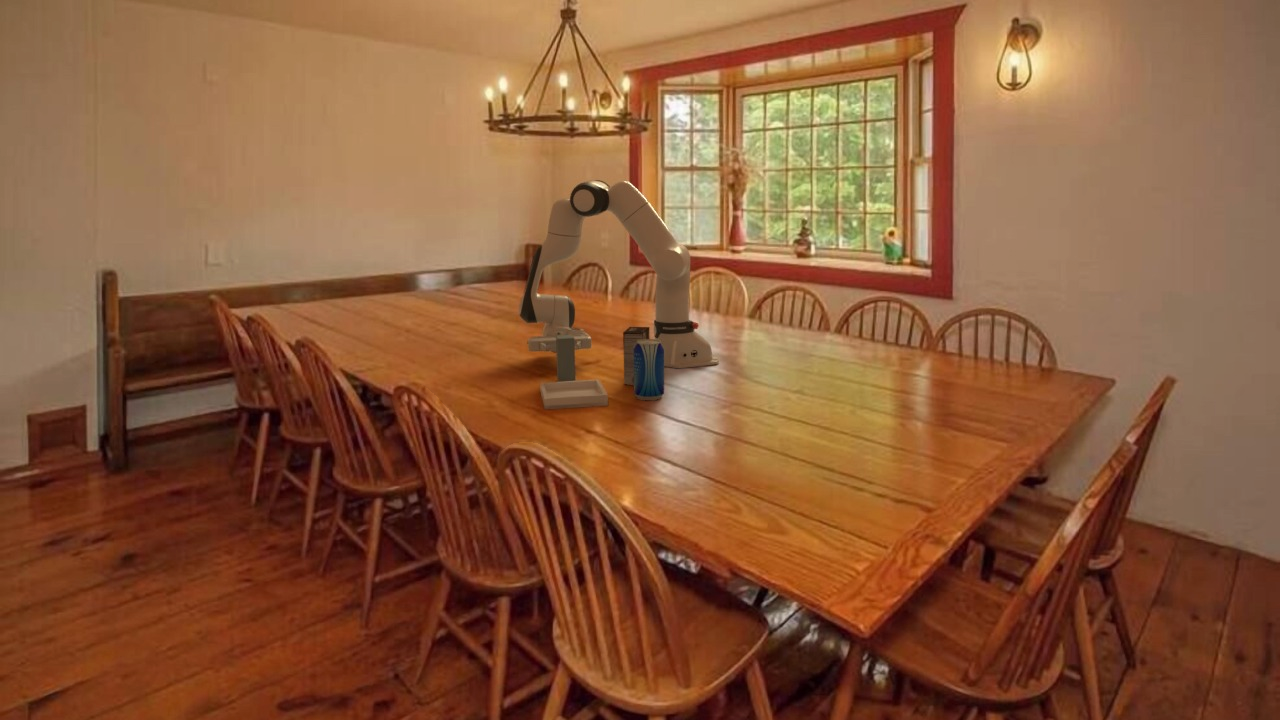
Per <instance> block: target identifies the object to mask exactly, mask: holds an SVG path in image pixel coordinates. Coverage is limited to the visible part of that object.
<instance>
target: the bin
mask: <svg viewBox="0 0 1280 720" xmlns="http://www.w3.org/2000/svg"><path fill="white" fill-rule="evenodd" d="M539 387H540V388H539V389H540V395H541V400H542V403H543V407H544V408H543V409H544V410H546V411H547V410H560V409H576V408H589V407H590V408H591V406H594V407H604V406H605V407H606V406H609V398H608V397H609V395H608V393H607V391H606V389H605V388H604V385H602V382H601V380H600V379H599V378H598V379H587V380H586V379H583V380H575V381H563V382H558V381H549V382H540V383H539Z"/></svg>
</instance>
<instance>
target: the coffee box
mask: <svg viewBox="0 0 1280 720" xmlns="http://www.w3.org/2000/svg"><path fill="white" fill-rule="evenodd" d="M650 329H651V327H650V326H629V327H627V328H626V329H625V330H624V331H623V332H622V334H623V337H622V338H623V339H622V341H623V342H622V343H623V384H624V385H625V384H627V386H634V348H635V346H636V345H637V341H638V340H643V339H651V338H650Z"/></svg>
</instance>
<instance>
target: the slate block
mask: <svg viewBox="0 0 1280 720" xmlns="http://www.w3.org/2000/svg"><path fill="white" fill-rule="evenodd" d="M575 351H576V350H575V346H574V337H573V335H557V336H556V353H555V354H556V376H557V380H556V382H563V381H576V354H575Z"/></svg>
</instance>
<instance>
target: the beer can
mask: <svg viewBox="0 0 1280 720" xmlns="http://www.w3.org/2000/svg"><path fill="white" fill-rule="evenodd" d="M633 394H634V395H635V396H636V397H635V398H636V399H638V400H640V401H645V400H653V401H658V400H661V399H662V398H663V395H664V394H665V366H664V348H663V347H662V345H661V341H660V340H655V338H654V339H653V338H652V339H651V338H650V339H643V340H638V341H637V345H636V346H635V348H634V385H633ZM660 398H661V399H660ZM657 399H658V400H657Z"/></svg>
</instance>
